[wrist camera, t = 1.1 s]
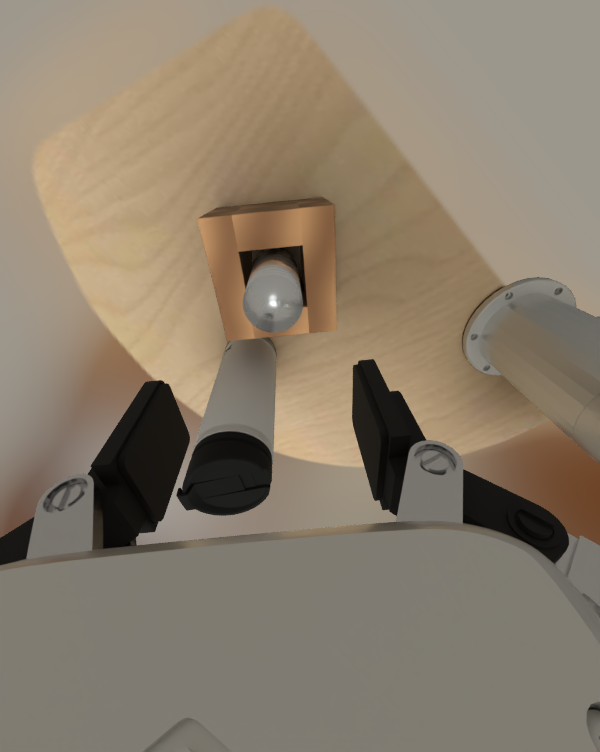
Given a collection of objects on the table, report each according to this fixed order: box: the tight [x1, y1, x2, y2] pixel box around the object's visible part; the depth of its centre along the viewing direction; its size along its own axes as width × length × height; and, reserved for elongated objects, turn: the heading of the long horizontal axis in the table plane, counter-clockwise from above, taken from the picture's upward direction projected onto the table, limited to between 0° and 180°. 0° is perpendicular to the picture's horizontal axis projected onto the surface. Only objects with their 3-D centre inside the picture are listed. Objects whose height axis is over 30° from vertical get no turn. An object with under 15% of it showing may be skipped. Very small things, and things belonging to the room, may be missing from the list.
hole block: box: [197, 197, 337, 341], centre depth 28 cm, size 10×10×8 cm
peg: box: [243, 248, 303, 333], centre depth 24 cm, size 4×4×8 cm
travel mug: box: [177, 337, 276, 515], centre depth 29 cm, size 6×7×20 cm
